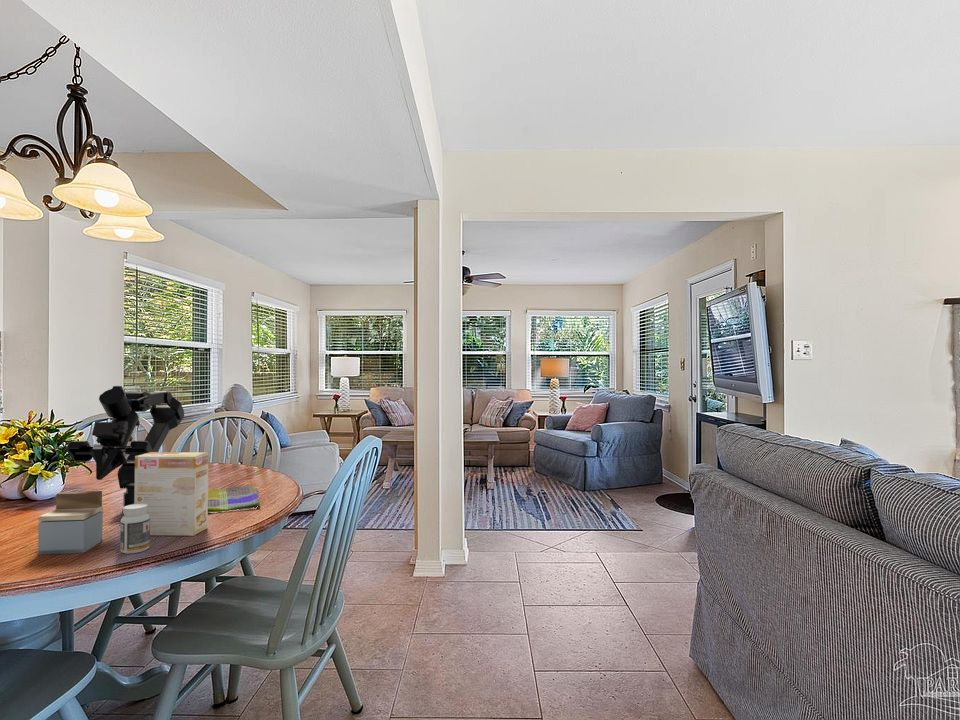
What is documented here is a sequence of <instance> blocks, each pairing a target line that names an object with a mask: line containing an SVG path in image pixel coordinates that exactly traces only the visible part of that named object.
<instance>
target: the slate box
mask: <svg viewBox="0 0 960 720" xmlns="http://www.w3.org/2000/svg"><path fill="white" fill-rule="evenodd" d="M103 513H104V512H103V510H102V511H100V512H98V513H96V514H94V515H92V516H90V517H88V518H86V519H84V520H58V521H38V526H37V527H38V529H37V530H38V531H37V532H38V533H37V541H38V542H37V555H59V554H60V555H61V554H78V553H79V554H81V553H85V552H87V551H88V550H90V549H92V548H94V547H95V546H97V545H98V544H99V543H102V542H103V526H104V525H103V524H104V521H103V519H104V518H103V517H104V515H103Z"/></svg>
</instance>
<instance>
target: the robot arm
mask: <svg viewBox="0 0 960 720" xmlns="http://www.w3.org/2000/svg"><path fill="white" fill-rule="evenodd" d="M98 401H99V402H100V404H101V406H102V407H103V409H104V411H105V413H106V416H107V417H109V418H112V419H111V421H109V422H108V421H106V422H105V421H104V422H103V421H102V422H101V421H100V422H99V421H95V422H94V424H93V428H92V432H91V435H92V436H94V437H96V439H95V440H96V443H97V444H95V443H93V444H92V446H91V445H90V443H89V441H87V440H72V441H69V442H68V443H67V445H66V447H65V450H66V452H67V453H68V455H69V457H70V458H71V460H72V461H73V462H77V463H82V462H85V463H87V462H89V461H91V460H92V459H93V460H94V462H95V478H96V480H97V481H99V480H100V481H101V480H103V479H104V478H105V477H107V476H108V475H110V474H111V473H112V472H113V471H114V470H116V469H118V471H117V479H118V485H119V489H122V490H123V489H125V492H123V503H122V504H123V505H122V507H125V506H128V505H132V504H134V489H135V456H138V455H142V454H145V453H150V452H159V451H160V449H161V448H162V445H163V443H164V442H165V440H166V438H167V436H168V434H169V432H170V431H172V430H173V429H175V428H177V427H179V425H180V424H181V422H182V421H183V420H184V417H185V409H184V408H183V404H182V402H181V401H179V400H178V399H176V398H175V397H173V395H172V391H168V390H154V391H151V392H147V391H124V389H123V386H122V385H113V386H112V388H109V389H108V390H105V391H104V392H102V393H101V394H100V395H99V397H98ZM165 404H166V405H165ZM147 411H149V413H150V415H151V417H152V421H153V424H152V425H151V428H150V429H149V431H148V433H147V435H146V437H145V438H144V440H133V437H132V435H133V432H134V430H135V428H136V427H140V425H141V423H140V420H139V419H140V417H139V414H138V413H145V412H147ZM129 443H130V444H129ZM128 444H129V445H128Z"/></svg>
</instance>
